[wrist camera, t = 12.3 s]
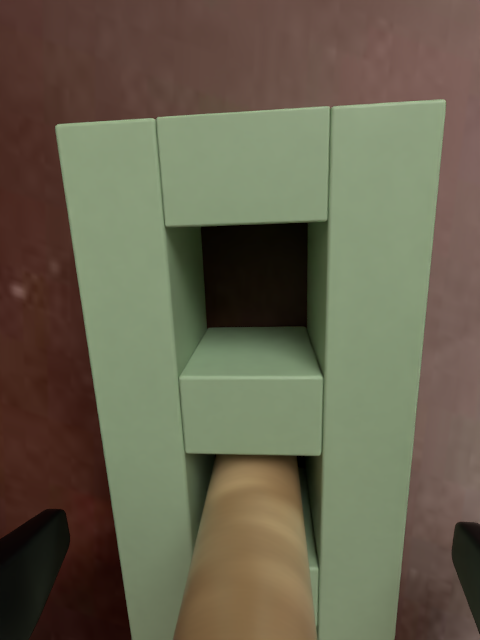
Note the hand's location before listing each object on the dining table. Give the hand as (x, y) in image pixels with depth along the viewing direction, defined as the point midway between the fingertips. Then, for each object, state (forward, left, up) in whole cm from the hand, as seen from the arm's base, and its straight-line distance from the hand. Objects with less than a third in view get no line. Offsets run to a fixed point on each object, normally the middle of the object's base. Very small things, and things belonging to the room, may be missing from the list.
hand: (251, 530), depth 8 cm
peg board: (0, 0, -4) cm, 4 cm away
